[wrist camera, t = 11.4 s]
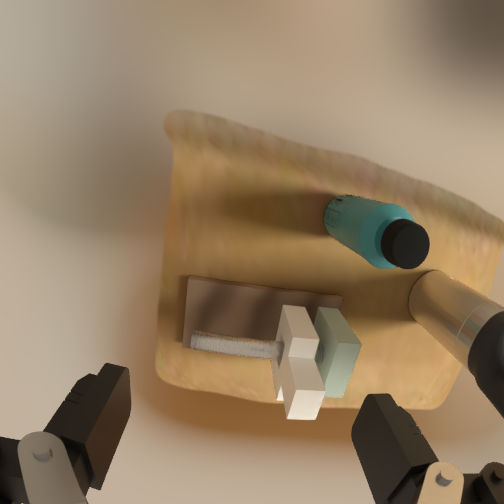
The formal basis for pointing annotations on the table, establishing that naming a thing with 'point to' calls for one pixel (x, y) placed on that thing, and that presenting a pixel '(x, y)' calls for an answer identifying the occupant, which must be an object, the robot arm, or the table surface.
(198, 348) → the steel pipe
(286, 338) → the white stepped block
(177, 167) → the table surface
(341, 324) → the mount block
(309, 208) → the table surface
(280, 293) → the pipe board
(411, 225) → the beverage bottle
